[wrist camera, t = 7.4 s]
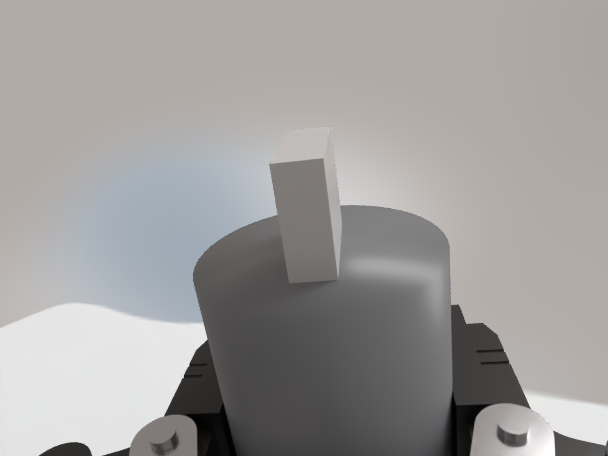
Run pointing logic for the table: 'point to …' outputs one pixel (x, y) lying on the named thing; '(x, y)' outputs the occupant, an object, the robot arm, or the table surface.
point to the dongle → (330, 320)
